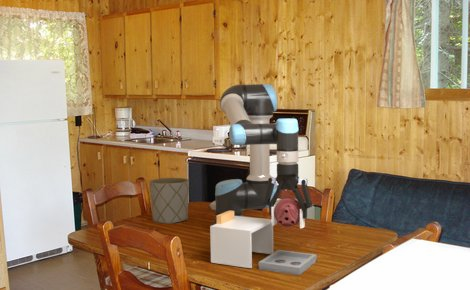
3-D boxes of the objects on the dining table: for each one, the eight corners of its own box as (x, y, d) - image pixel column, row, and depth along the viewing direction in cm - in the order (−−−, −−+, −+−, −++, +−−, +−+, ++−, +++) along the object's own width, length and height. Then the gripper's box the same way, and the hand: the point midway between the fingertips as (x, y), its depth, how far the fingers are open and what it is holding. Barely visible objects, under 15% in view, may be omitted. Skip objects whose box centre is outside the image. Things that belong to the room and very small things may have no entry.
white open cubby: (210, 262, 194) (210, 218, 192) (235, 249, 210) (235, 208, 209) (250, 268, 186) (250, 222, 185) (273, 253, 203) (272, 211, 202)
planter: (169, 215, 276) (168, 176, 275) (197, 219, 265) (196, 179, 263) (142, 222, 261) (141, 181, 259) (171, 227, 250) (170, 184, 248)
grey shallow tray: (258, 269, 186) (258, 262, 186) (278, 256, 201) (278, 249, 201) (299, 275, 179) (299, 267, 179) (316, 261, 194) (316, 254, 194)
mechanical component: (301, 233, 181) (300, 204, 180) (272, 232, 183) (271, 204, 182) (304, 221, 193) (303, 194, 192) (276, 221, 195) (276, 194, 194)
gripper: (253, 162, 189) (254, 225, 191) (314, 165, 178) (315, 231, 180) (262, 160, 195) (263, 221, 197) (322, 163, 185) (322, 226, 187)
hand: (288, 226), depth 189 cm, fingers closed on mechanical component, 10 cm apart
